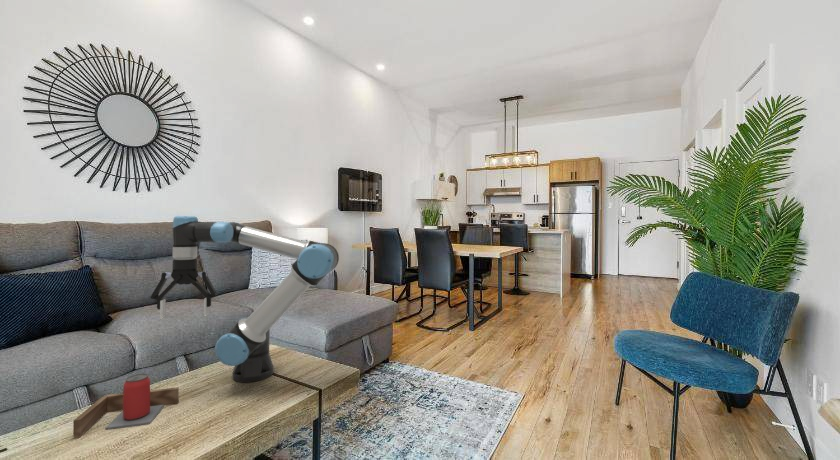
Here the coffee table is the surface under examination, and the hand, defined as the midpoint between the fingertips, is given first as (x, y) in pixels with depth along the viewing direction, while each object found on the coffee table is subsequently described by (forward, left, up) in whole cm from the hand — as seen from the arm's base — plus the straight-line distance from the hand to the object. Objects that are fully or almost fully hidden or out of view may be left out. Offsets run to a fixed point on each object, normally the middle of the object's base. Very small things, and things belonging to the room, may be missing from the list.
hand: (184, 317), depth 129 cm
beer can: (+8, +17, -26) cm, 32 cm away
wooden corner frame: (+9, +17, -27) cm, 33 cm away
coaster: (+8, +17, -27) cm, 33 cm away
